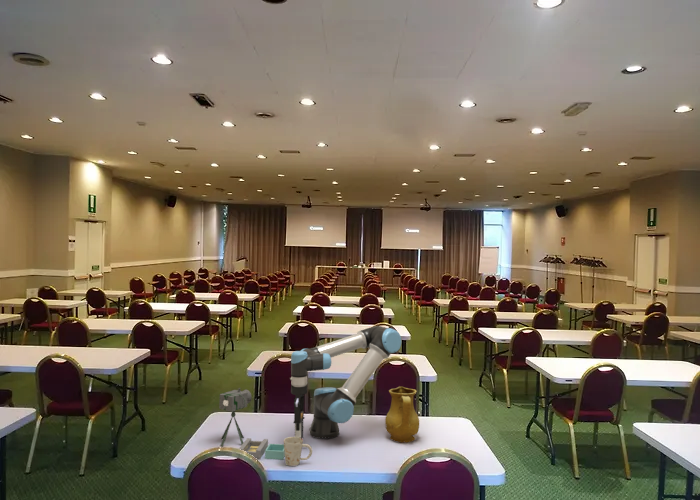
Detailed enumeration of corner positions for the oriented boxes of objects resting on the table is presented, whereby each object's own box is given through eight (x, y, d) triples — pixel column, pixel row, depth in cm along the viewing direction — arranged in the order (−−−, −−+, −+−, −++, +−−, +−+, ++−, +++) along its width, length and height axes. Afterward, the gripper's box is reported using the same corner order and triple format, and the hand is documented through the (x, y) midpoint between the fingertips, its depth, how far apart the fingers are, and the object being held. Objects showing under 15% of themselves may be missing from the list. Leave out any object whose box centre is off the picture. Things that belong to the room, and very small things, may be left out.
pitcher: (424, 434, 247) (422, 386, 247) (413, 449, 230) (411, 396, 230) (392, 430, 255) (391, 383, 255) (379, 443, 238) (378, 393, 238)
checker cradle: (267, 447, 227) (268, 439, 227) (260, 459, 213) (260, 450, 213) (246, 446, 227) (247, 438, 228) (237, 458, 213) (238, 449, 214)
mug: (283, 459, 213) (284, 436, 213) (312, 459, 214) (312, 436, 214) (282, 467, 205) (283, 443, 205) (312, 467, 206) (312, 443, 206)
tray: (287, 452, 221) (287, 444, 221) (283, 459, 213) (283, 451, 213) (269, 451, 222) (269, 443, 222) (264, 458, 213) (265, 450, 214)
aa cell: (303, 436, 228) (304, 409, 228) (302, 439, 224) (302, 411, 224) (295, 435, 228) (295, 409, 229) (293, 439, 224) (293, 411, 224)
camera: (233, 450, 222) (234, 395, 223) (209, 443, 230) (211, 390, 231) (256, 440, 236) (258, 388, 236) (233, 433, 244) (235, 383, 244)
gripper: (294, 380, 235) (294, 428, 235) (287, 389, 218) (287, 441, 218) (309, 380, 235) (309, 428, 234) (304, 389, 218) (303, 442, 217)
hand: (299, 435), depth 226 cm, fingers closed on aa cell, 4 cm apart
